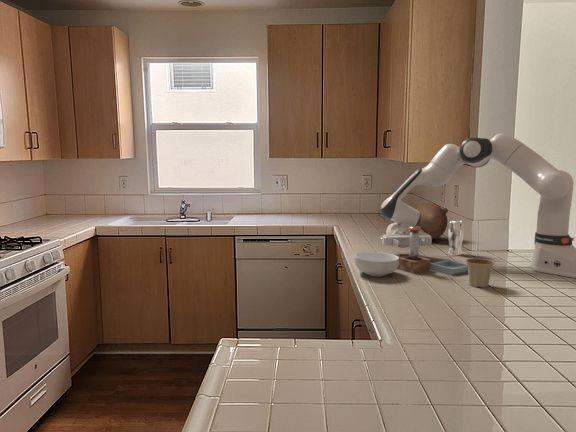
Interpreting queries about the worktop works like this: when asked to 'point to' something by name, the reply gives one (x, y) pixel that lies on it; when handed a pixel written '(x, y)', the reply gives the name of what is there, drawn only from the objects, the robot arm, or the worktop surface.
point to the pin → (414, 242)
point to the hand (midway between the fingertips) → (411, 243)
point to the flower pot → (479, 271)
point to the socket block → (414, 264)
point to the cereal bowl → (376, 263)
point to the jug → (432, 219)
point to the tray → (449, 267)
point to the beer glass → (455, 237)
